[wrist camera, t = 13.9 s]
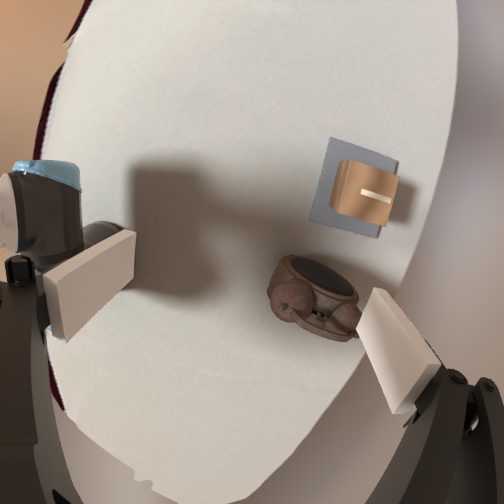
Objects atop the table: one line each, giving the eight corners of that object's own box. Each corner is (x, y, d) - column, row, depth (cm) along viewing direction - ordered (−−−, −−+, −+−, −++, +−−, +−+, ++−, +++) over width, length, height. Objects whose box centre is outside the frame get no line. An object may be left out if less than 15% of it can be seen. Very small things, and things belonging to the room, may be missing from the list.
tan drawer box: (328, 205, 45) (338, 213, 38) (339, 160, 43) (352, 159, 35) (369, 217, 45) (386, 227, 38) (380, 174, 43) (400, 176, 35)
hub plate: (309, 219, 47) (314, 227, 42) (329, 137, 43) (337, 134, 37) (373, 237, 48) (385, 246, 42) (394, 160, 43) (409, 160, 37)
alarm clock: (349, 269, 50) (387, 326, 31) (331, 300, 52) (357, 367, 33) (280, 239, 49) (287, 287, 30) (264, 273, 51) (260, 336, 32)
